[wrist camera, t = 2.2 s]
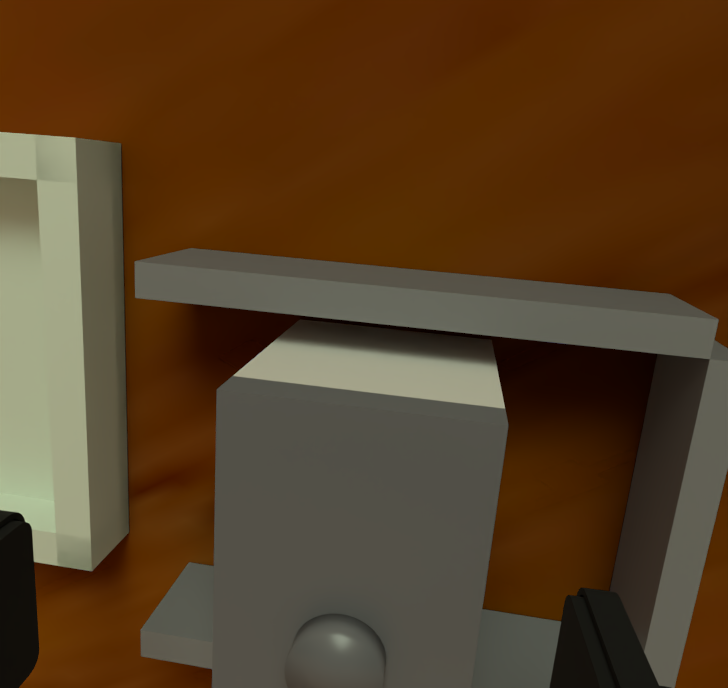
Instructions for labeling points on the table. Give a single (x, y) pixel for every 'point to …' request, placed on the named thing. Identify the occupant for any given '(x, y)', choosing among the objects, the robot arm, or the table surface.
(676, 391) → the bay
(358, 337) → the grey box with knob
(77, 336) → the dock tray
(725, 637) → the table surface
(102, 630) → the table surface
